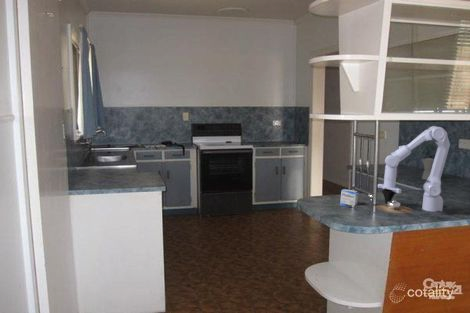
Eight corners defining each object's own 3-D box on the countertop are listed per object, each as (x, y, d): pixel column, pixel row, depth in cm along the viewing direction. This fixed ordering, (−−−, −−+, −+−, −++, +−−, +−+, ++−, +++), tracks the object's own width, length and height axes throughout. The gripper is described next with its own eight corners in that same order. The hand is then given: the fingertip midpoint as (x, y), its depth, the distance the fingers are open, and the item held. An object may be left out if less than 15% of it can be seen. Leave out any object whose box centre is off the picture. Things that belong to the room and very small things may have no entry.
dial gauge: (371, 206, 215) (372, 193, 214) (376, 208, 212) (377, 195, 211) (365, 207, 214) (366, 194, 213) (370, 209, 210) (372, 195, 209)
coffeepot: (419, 179, 302) (421, 155, 299) (418, 177, 311) (420, 154, 308) (442, 181, 297) (444, 157, 294) (440, 179, 305) (443, 155, 303)
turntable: (394, 205, 219) (394, 203, 219) (421, 214, 203) (421, 211, 203) (368, 208, 212) (368, 205, 212) (394, 217, 196) (394, 214, 195)
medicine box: (339, 205, 215) (341, 190, 213) (342, 204, 218) (343, 188, 217) (354, 208, 210) (355, 192, 209) (357, 206, 214) (358, 190, 213)
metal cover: (393, 206, 212) (394, 198, 211) (402, 209, 206) (403, 201, 206) (384, 207, 209) (385, 199, 209) (393, 210, 204) (393, 202, 203)
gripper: (374, 176, 214) (372, 201, 216) (394, 181, 201) (392, 207, 203) (384, 175, 217) (382, 200, 219) (405, 180, 204) (402, 206, 206)
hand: (387, 203), depth 211 cm, fingers closed
